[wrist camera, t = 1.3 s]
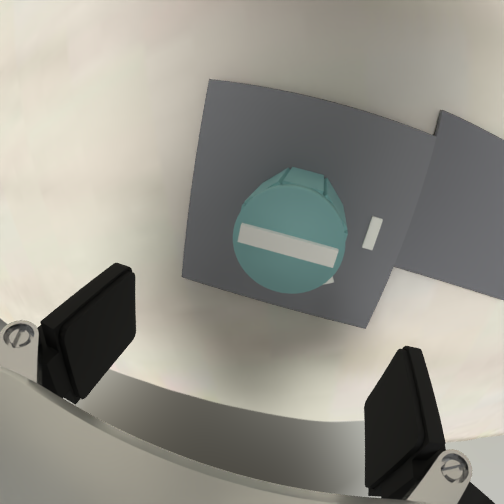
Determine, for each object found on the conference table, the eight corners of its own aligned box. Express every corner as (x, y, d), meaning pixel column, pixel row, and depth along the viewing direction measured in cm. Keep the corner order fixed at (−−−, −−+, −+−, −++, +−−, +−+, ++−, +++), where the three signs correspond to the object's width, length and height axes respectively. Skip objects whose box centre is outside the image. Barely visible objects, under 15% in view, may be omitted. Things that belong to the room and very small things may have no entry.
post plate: (211, 79, 20) (182, 71, 15) (434, 136, 18) (461, 142, 13) (184, 274, 27) (158, 304, 22) (365, 325, 25) (369, 364, 21)
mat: (440, 110, 17) (442, 110, 17) (552, 171, 16) (555, 173, 15) (392, 263, 22) (393, 266, 22) (502, 297, 21) (504, 300, 20)
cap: (249, 239, 24) (223, 279, 18) (265, 160, 21) (242, 176, 15) (327, 260, 23) (325, 308, 17) (351, 182, 20) (360, 208, 15)
